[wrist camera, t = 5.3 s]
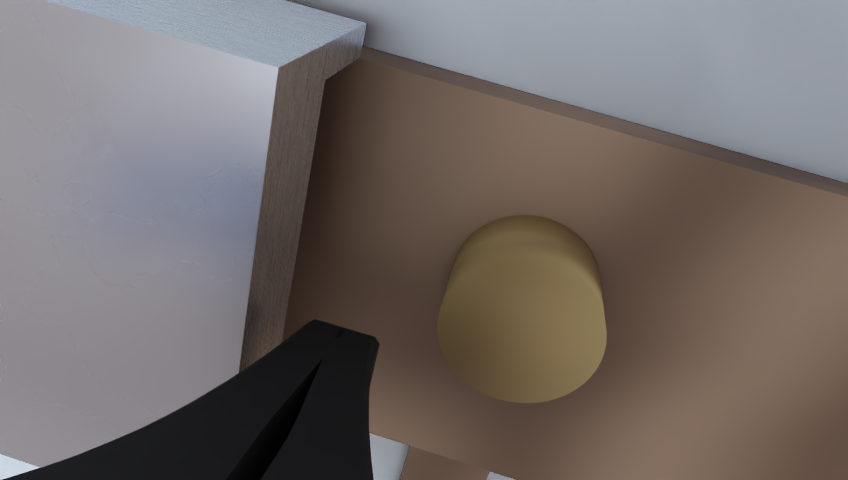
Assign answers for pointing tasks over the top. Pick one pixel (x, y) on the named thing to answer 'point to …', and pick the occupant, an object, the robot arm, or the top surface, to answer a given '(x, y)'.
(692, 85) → the top surface
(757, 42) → the top surface
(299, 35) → the housing
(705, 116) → the top surface
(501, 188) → the board
